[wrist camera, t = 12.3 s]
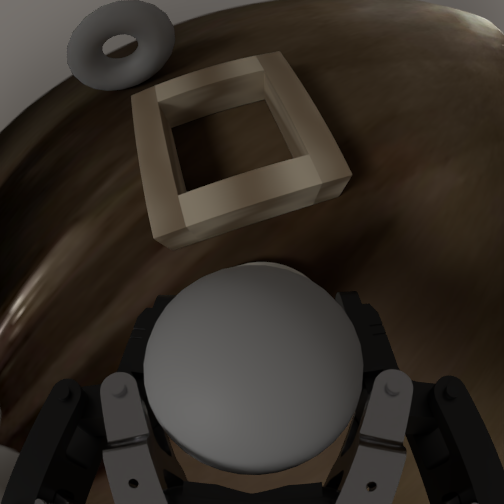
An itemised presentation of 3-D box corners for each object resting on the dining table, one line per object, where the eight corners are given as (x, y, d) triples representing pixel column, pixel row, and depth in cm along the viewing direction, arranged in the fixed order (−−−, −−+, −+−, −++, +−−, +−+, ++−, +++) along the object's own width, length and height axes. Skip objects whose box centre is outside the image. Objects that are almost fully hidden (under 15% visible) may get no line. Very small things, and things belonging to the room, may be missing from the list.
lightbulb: (294, 402, 14) (332, 532, 4) (193, 371, 15) (84, 455, 4) (327, 304, 15) (437, 293, 5) (225, 272, 16) (147, 205, 5)
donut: (183, 55, 22) (159, -22, 13) (188, 73, 22) (161, -10, 12) (95, 90, 22) (52, 29, 13) (94, 111, 22) (43, 47, 12)
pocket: (172, 250, 19) (153, 238, 15) (146, 120, 21) (130, 95, 17) (338, 196, 19) (352, 174, 15) (278, 79, 21) (279, 51, 18)
